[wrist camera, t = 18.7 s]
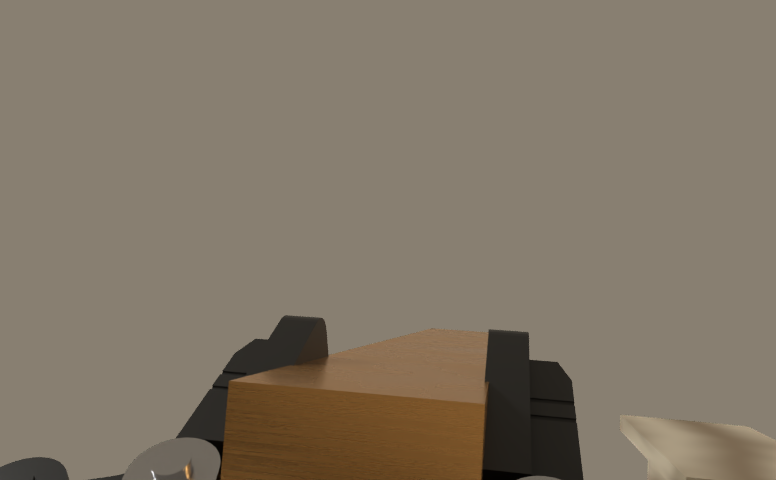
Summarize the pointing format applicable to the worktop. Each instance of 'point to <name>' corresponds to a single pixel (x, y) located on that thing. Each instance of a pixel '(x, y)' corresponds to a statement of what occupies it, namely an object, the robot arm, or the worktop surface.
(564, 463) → the robot arm
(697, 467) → the tall pedestal
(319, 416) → the wooden block
